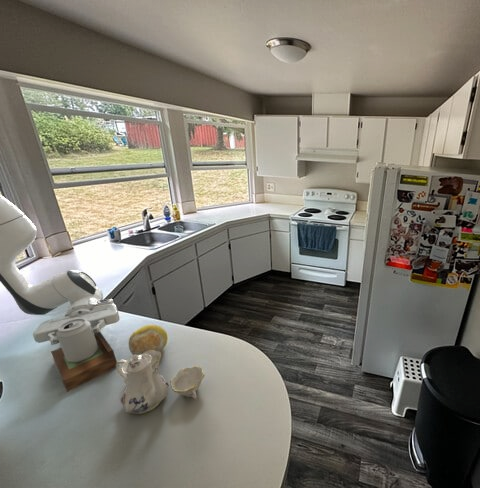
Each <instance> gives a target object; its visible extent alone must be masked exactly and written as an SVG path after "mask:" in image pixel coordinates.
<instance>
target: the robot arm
mask: <svg viewBox="0 0 480 488" xmlns="http://www.w3.org/2000/svg"><path fill="white" fill-rule="evenodd" d="M37 234H38V230H37V227H36V226H35V223H33V222H32V221H31V219H30V218H29V217H27V215H26V214H25V213H24V212H23V211H22V210H20V209H19V208H18V207H17V206H16V205H15V204H14V203H12V202H11V201H10V200H8V199H7V198H6V197H5V196H4V195H2V194H0V283H1V284H2V285H3V287H4V288H5V289H6V290H7V292H9V294H10V295H11V296H12V298H13V299H14V301H15V302H16V305H17V307H18V308H19V309H20V310H21V312H23V313H24V314H26V315H31V316H45V315H47V314H49V313H50V312H52V311H54V310H55V309H57V308H58V307H60V306H62V305H64V304H66V303H68V302H69V305H68V307H67V309H66V311H65V315H64V316H59V317H56V318H52V319H48V320H44V321H43V322H41V323H40V324H38V326H37V327H36V328H35V330H33V332H32V336H33V339H34V341H35V343H39V344H40V343H45V342H48V341H49V342H50V345H51V346H54V345H57V344H60V343H59V340H58V338H57V335H56V333H57V332H58V327H59V326H60V325H62V324H63V323H65V322H67V321H70V320H73V319H77V318H83V319H86V321H88V322H90V324H91V327H92V330H93V333H98V332H101V330H102V329H104V328H105V327H106V326H109V325H112V324H116V323H118V322H119V321H120V320H121V319H120V318H121V317H120V314H119V310H118V307H117V304H115V301H114V299H112V298H110V299H109V298H108V299H104V294H103V291H102V290H101V288H100V287H99V286H97V284H96V282H95V280H94V279H93V278H92V277H91V275H88V274H87V273H86V272H84V271H80V270H75V269H68V270H66V271H64V272H61V273H59V274H57V275H55V276H53V277H51V278H48V279H47V280H45V281H42V282H40V283H38V284H34V285H33V284H31V283H30V282H29V281H28V280H27V279H26V277H25V276H24V274H23V273H22V271H20V269H19V268H18V267H17V265H16V261H17V259H18V257H19V256H20V255H21V254H22V253H23V252H24V251H25V250H27V249H28V248H29V247H30V246H31V245H32V244H33V243H34V241H35V240H36V238H37Z"/></svg>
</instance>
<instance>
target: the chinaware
mask: <svg viewBox="0 0 480 488" xmlns="http://www.w3.org/2000/svg"><path fill="white" fill-rule="evenodd" d="M162 353H163V352H162V351H161V350H160V351H155V350H147V351H145V352H144V353H142V355H141V354H140V355H133V356H132V357H130V358H129V359H127V360H125V359H119V360H118V361H117V363H116V367H115V370H116V371H117V373H118V374H119V375H120V376H121V377H123V378H125V379H124V380H123V382H124V384H126V388H125V390H124V392H123V394H122V396H121V398H120V403H121V405H122V406H123V408H124V411H125V412H126V413H131V414H132V415H137V416H138V415H143V414H147V413H150V412H152V411H153V410H155V409H156V408H157V407H158V406H159V405H160V404H161V403H162V402H163V401H164V399H165V398H166V397H167V396H168V395H169V390H168V388H169V384H170V387H171V389H172V391H173V392H174V393H177V395H179V396H184V397H186V398H193V400H197V398H198V397H197V391H198V390H199V388H200V386H201V385H202V381H203V379H204V377H205V373H204V371H203V370H202V367H200V366H196V365H195V366H192V367H184V368H182V369H180V370H179V371H178V372H177V373H176V375H175V376H174V377H172V378H171V380H170V381H169V383H168V382H167V380H165V378H164V376H163V375H162V374H159V369H160V368H159V365H160V361H161V358H162ZM120 364H122V367H121V366H120Z"/></svg>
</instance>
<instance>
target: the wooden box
mask: <svg viewBox="0 0 480 488" xmlns="http://www.w3.org/2000/svg"><path fill="white" fill-rule="evenodd" d="M94 336H95V339H96V342H97V345H98V350H97V351H96V352H95V353H94V354H93V355H92V356H91V357H90V358H88V359H86V360H83V361H80V362H69V361H67V360H66V357H65V355H64V353H63V350H62V348H61V347H58V348H56V349H54V350H51V351H50V353H51V356H52V359H53V361H54V364H55V366H56V368H57V371H58V374H59V375H60V378H61V381H62V383H63V386H64V387H65V390H66V392H70V391H71V390H73V389H75V388H77V387H79V386H81V385H83V384H85V383H87V382H89V381H92V380H93V379H95V378H97V377H99V376H101V375H103V374H105V373H107V372H109V371H111V370H112V369H116V363H117V362H118V361H117V358H116V355H115V351H114V349H113V348H112V346H111V345H110V344H109V342H108V340H107V339H106V338H105V336H104V335H103V333H102V332H101V331H100V332H98V333H94Z"/></svg>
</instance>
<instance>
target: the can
mask: <svg viewBox="0 0 480 488" xmlns="http://www.w3.org/2000/svg"><path fill="white" fill-rule="evenodd" d="M56 335H57V338H58V340H59V343H58V344H59V345H60V348H62V350H63V353H64V355H65V357H66V360H67V361H69V362H80V361H83V360H86V359H88V358H90V357H91V356H92V355H93V354H94V353H95V352H96V351H97V350H98V345H97V342H96V339H95V336H94V333H93V329H92V327H91V324H90V322H88V321H86V319H83V318H77V319H73V320H70V321H67V322H65V323H63V324H62V325H60V326H59V327H58V332H57V333H56Z"/></svg>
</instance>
